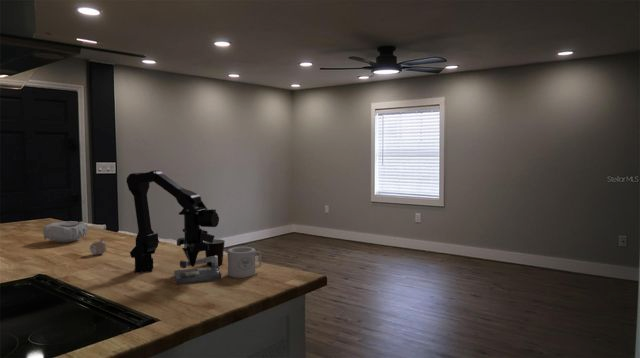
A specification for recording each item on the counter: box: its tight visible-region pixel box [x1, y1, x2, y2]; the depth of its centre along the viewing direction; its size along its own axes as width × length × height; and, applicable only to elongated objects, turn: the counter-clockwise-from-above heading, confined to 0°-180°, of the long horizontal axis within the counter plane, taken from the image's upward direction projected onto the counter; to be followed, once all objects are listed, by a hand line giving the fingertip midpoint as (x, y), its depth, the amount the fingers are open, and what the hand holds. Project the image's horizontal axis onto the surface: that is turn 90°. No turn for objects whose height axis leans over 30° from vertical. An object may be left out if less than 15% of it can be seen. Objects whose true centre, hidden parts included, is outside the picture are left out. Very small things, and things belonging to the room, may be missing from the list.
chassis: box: [173, 266, 222, 285], centre depth 169 cm, size 16×12×2 cm
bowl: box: [42, 220, 88, 243], centre depth 233 cm, size 21×20×10 cm
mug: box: [226, 246, 262, 279], centre depth 174 cm, size 14×11×10 cm
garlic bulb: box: [89, 238, 107, 256], centre depth 205 cm, size 7×6×8 cm
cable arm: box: [179, 255, 219, 269], centre depth 176 cm, size 16×3×5 cm, turn 134°
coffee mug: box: [203, 238, 226, 267], centre depth 189 cm, size 12×9×10 cm
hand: (192, 266), depth 171 cm, fingers closed
